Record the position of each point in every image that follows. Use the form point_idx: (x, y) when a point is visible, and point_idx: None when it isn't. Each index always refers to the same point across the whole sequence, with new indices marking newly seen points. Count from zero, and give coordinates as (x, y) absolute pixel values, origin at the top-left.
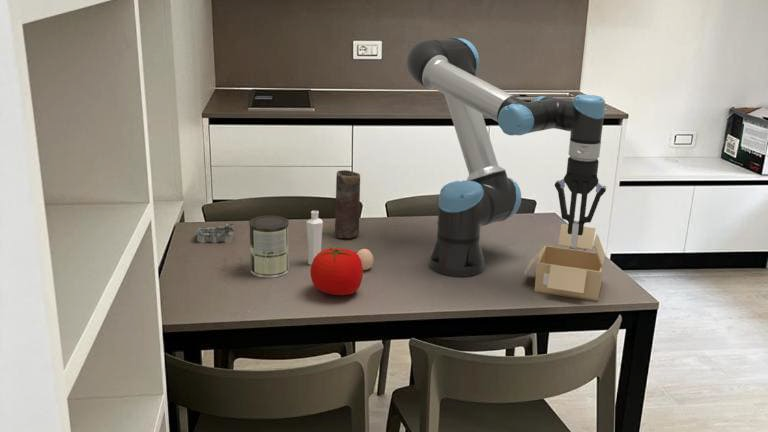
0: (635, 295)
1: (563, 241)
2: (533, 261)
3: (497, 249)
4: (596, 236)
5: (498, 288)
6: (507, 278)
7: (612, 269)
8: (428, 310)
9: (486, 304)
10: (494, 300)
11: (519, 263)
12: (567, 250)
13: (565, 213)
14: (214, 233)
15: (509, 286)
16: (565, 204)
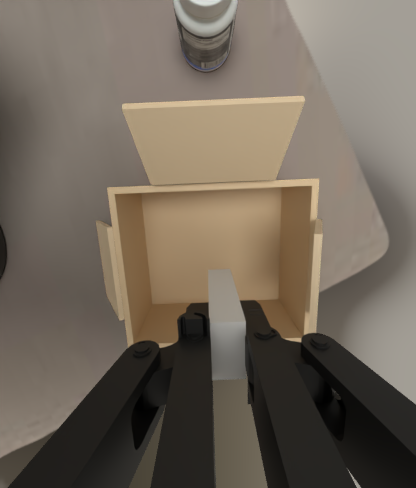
0: (361, 233)
1: (165, 174)
2: (110, 288)
3: None
4: (317, 267)
5: (77, 320)
6: (74, 260)
7: (309, 72)
8: (7, 451)
9: (84, 395)
10: (91, 375)
11: (65, 146)
12: (189, 190)
13: (148, 434)
14: None
15: (93, 301)
16: (107, 474)
